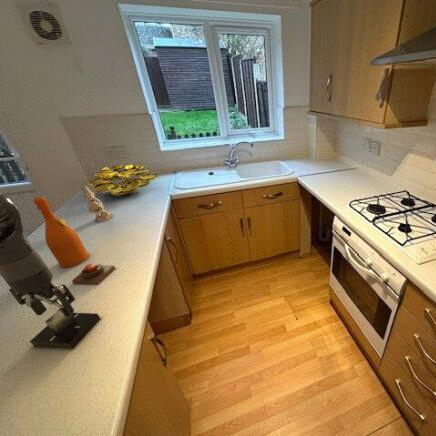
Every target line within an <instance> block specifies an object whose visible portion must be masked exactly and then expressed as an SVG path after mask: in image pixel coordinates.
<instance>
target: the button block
mask: <svg viewBox="0 0 436 436" xmlns="http://www.w3.org/2000/svg"><path fill="white" fill-rule="evenodd" d="M95 264H96V266H97V269H96V270H95V271H93V272H90V273H86V271H85V269H84V268H83V269H81V272H80V273H79V274H78V275H77V276H75V277H74V278H73V279H71V282H72V284H73V285H100V283H102V282H103V281H104V280H105V279H106V278H107V277H108V276H109V275H110V274H111V273H112V272H114V271H115V270H116V267H115V265H109V264H108V265H107V264H106V265H105V264H101V263H95Z"/></svg>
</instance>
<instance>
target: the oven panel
mask: <svg viewBox="0 0 436 436" xmlns="http://www.w3.org/2000/svg"><path fill="white" fill-rule="evenodd" d="M72 315H73V317H74V318H75V321H74V322H73V323H72V324H71V325H70V326H69V327H67V328H66V329H65V330H64V331H63V332H62V333H61V334H54V333H53V332H52V330H51V329H50V328H49V327H48V325H47V324H46V326H45V327H44V328H42V330H40V332H38V333H37V334H36V335H35V336H34V337H33V338H31V339H30V341H29V343H30V344H31V345H32V346H33V347H34V348H48V349H64V350H65V349H67V350H74V349H75V348H76V346H78V344H79V343H81V341H82V340H83V339H84V338H85V337H86V336H87V335H88V334H89V332H91V330H92V329H93V328H94V327H95V326H96V325H97V324H98V323H99V321H100V320H101V317H100V315H99V313H92V312H73V313H72Z"/></svg>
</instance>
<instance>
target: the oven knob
mask: <svg viewBox="0 0 436 436" xmlns="http://www.w3.org/2000/svg"><path fill="white" fill-rule="evenodd" d="M74 321H75V318H74V317H73V315H72V314H71V315H70V316H69V317H65V316H64V314H63V313H62V312H61V310H60V309H59V308H58V309H57V311H56V312H55V313H53V314H52V315H51V316H50V317H49V318H47V319H46V320H45V321H44V323H45V324H46V326H47V325H48V327H49V328H50V329H51V330H52V332H53V333H54V334H61V333H62V332H63V331H64V330H65V329H66V328H67V327H69V326H70V325H71V324H72V323H73V322H74Z"/></svg>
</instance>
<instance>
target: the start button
mask: <svg viewBox="0 0 436 436" xmlns="http://www.w3.org/2000/svg"><path fill="white" fill-rule="evenodd" d="M96 264H97V263H90V264H87V265H86V266H84V268H83V269H85V271H86V273H90V272H93V271H95V270H96V269H97V266H96Z"/></svg>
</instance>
